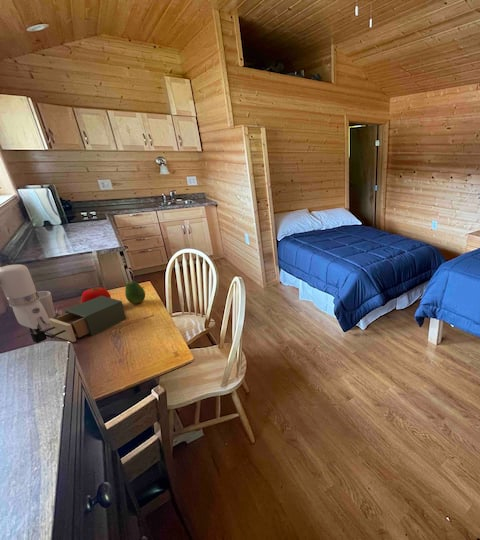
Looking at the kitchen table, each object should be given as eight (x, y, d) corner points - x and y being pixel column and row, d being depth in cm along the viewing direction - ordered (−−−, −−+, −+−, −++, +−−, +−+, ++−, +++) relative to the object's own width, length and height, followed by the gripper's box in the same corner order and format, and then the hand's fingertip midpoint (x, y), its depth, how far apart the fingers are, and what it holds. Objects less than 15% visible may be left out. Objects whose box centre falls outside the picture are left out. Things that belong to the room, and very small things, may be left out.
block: (74, 334, 123) (70, 325, 121) (66, 331, 124) (63, 322, 122) (86, 328, 127) (83, 319, 125) (78, 326, 128) (75, 317, 126)
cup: (62, 317, 137) (54, 293, 132) (39, 325, 130) (29, 301, 125) (53, 312, 139) (45, 289, 135) (30, 320, 133) (20, 296, 128)
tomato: (78, 312, 141) (71, 291, 137) (99, 301, 151) (93, 282, 147) (98, 315, 140) (91, 294, 136) (118, 304, 150) (112, 285, 146)
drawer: (58, 349, 116) (52, 332, 113) (38, 342, 119) (32, 325, 116) (108, 325, 132) (104, 309, 129) (90, 319, 135) (85, 304, 132)
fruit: (148, 303, 153) (143, 282, 148) (129, 308, 147) (124, 286, 143) (145, 297, 158) (140, 277, 153) (126, 302, 152) (121, 281, 148)
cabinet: (91, 336, 126) (85, 316, 122) (70, 329, 129) (64, 310, 125) (126, 319, 139) (121, 301, 135) (106, 313, 142) (101, 295, 138)
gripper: (50, 298, 109) (65, 340, 116) (23, 290, 113) (39, 331, 120) (23, 307, 102) (41, 351, 109) (-5, 298, 106) (15, 341, 113)
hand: (40, 340), depth 114 cm, fingers closed
